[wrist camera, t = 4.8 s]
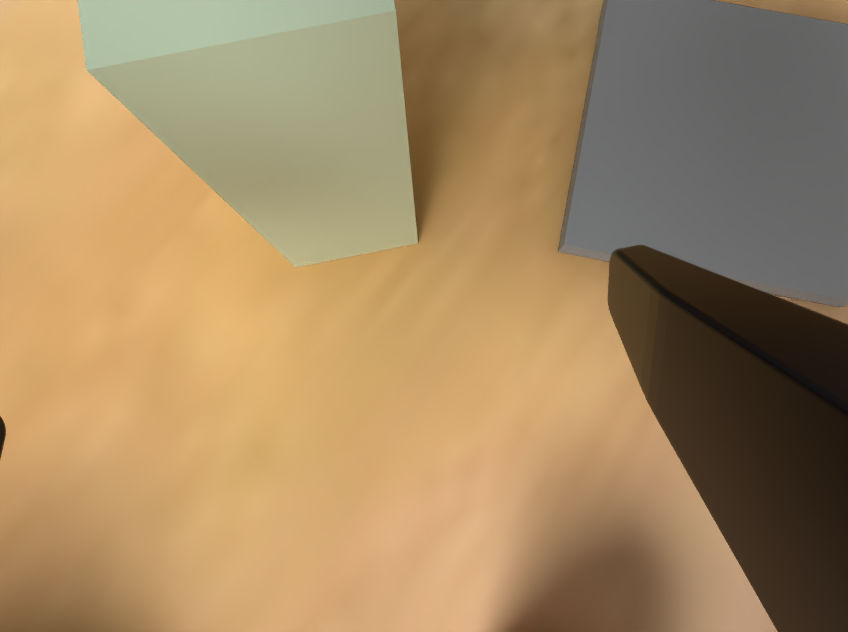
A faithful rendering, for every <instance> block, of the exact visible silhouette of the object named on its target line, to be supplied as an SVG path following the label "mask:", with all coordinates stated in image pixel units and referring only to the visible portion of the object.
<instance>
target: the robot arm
mask: <svg viewBox="0 0 848 632" xmlns="http://www.w3.org/2000/svg"><path fill="white" fill-rule="evenodd" d="M608 305H609V310H610V313H611V316H612V319H613V321H614V323H615V326H616V328H617V331H618V333H619V335H620V338H621V340H622V343H623V345H624V348H625V350H626V352H627V355H628V357H629V360H630V362H631V364H632V367H633V369H634V372H635V374H636V376H637V379H638V381H639V384H640V386H641V388H642V391H643V393H644V395H645V397H646V400H647V402H648V404H649V405H650V407H651V409H652V411H653V413H654V415H655V417H656V418H657V420H658V422H659V424H660V425H661V427H662V429H663V431H664V433H665V434H666V436H667V438H668V440H669V441H670V443H671V445H672V447H673V448H674V450H675V452H676V454H677V455H678V457H679V459H680V461H681V462H682V464H683V466H684V468H685V469H686V471H687V473H688V475H689V476H690V478H691V480H692V482H693V484H694V485H695V487H696V489H697V491H698V492H699V494H700V496H701V498H702V499H703V501H704V503H705V505H706V506H707V508H708V510H709V512H710V513H711V515H712V517H713V519H714V520H715V522H716V524H717V526H718V527H719V529H720V531H721V533H722V534H723V536H724V538H725V540H726V542H727V543H728V545H729V547H730V549H731V550H732V552H733V554H734V556H735V557H736V559H737V561H738V563H739V564H740V566H741V568H742V570H743V571H744V573H745V575H746V577H747V578H748V580H749V582H750V584H751V585H752V587H753V589H754V591H755V592H756V594H757V596H758V598H759V600H760V601H761V603H762V605H763V607H764V608H765V610H766V612H767V614H768V615H769V617H770V619H771V621H772V622H773V624H774V626H775V628H776V629H777V631H778V632H848V324H846V323H843V322H841V321H838V320H835V319H833V318H830V317H828V316H825V315H823V314H820V313H817V312H815V311H812V310H810V309H807V308H805V307H802V306H799V305H797V304H794V303H792V302H789V301H787V300H784V299H781V298H779V297H776V296H774V295H771V294H769V293H766V292H763V291H761V290H758V289H756V288H753V287H751V286H748V285H745V284H743V283H740V282H738V281H735V280H733V279H730V278H727V277H725V276H722V275H720V274H717V273H715V272H712V271H709V270H707V269H704V268H702V267H699V266H697V265H694V264H691V263H689V262H686V261H684V260H681V259H679V258H676V257H673V256H671V255H668V254H666V253H663V252H661V251H658V250H656V249H653V248H650V247H648V246H645V245H634V246H629V247H625V248H620V249H616V250H614V251H613V252H612V254H611V257H610V264H609V283H608ZM5 436H6V428H5V424H4V421H3V419H2V418H1V416H0V458H1V454H2V450H3V445H4V441H5Z"/></svg>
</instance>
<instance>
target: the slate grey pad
mask: <svg viewBox="0 0 848 632" xmlns="http://www.w3.org/2000/svg"><path fill="white" fill-rule="evenodd" d="M634 245H645V246H648V247H650V248H653V249H656V250H658V251H661V252H663V253H666V254H668V255H671V256H673V257H676V258H679V259H681V260H684V261H686V262H689V263H691V264H694V265H697V266H699V267H702V268H704V269H707V270H709V271H712V272H715V273H717V274H720V275H722V276H725V277H727V278H730V279H733V280H735V281H738V282H740V283H743V284H745V285H748V286H751V287H753V288H756V289H758V290H761V291H763V292H766V293H770V294H775V295H780V296H785V297H790V298H795V299H800V300H806V301H811V302H816V303H821V304H826V305H831V306H836V307H842V306H846V305H848V24H844V23H839V22H833V21H827V20H822V19H816V18H810V17H805V16H799V15H793V14H788V13H782V12H776V11H771V10H765V9H759V8H754V7H748V6H742V5H737V4H731V3H725V2H720V1H714V0H604V1H603V6H602V12H601V17H600V23H599V28H598V34H597V39H596V45H595V50H594V56H593V61H592V67H591V72H590V78H589V83H588V89H587V94H586V100H585V105H584V111H583V116H582V122H581V127H580V133H579V138H578V144H577V149H576V155H575V160H574V166H573V171H572V177H571V182H570V188H569V193H568V199H567V204H566V210H565V215H564V221H563V226H562V232H561V237H560V243H559V248H558V252H562V253H567V254H572V255H577V256H582V257H587V258H592V259H597V260H603V261H608V262H610V257H611V254H612V252H613V251H614V250H616V249H620V248H625V247H629V246H634Z"/></svg>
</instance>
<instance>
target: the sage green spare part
mask: <svg viewBox="0 0 848 632" xmlns="http://www.w3.org/2000/svg"><path fill="white" fill-rule="evenodd" d="M78 7H79V15H80V23H81V31H82V38H83V46H84V54H85V62H86V69H87V71H88V72H89V73H90V74H91V75H92V76H93V77H94V78H95V79H96V80H98V81H99V82H100V83H101V84H102V85H103V86H104V87H105V88H106V89H107V90H108V91H109V92H110V93H111V94H112V95H113V96H114V97H116V98H117V99H118V100H119V101H120V102H121V103H122V104H123V105H124V106H125V107H126V108H127V109H128V110H129V111H130V112H131V113H132V114H133V115H135V116H136V117H137V118H138V119H139V120H140V121H141V122H142V123H143V124H144V125H145V126H146V127H147V128H148V129H149V130H150V131H151V132H153V133H154V134H155V135H156V136H157V137H158V138H159V139H160V140H161V141H162V142H163V143H164V144H165V145H166V146H167V147H168V148H169V149H171V150H172V151H173V152H174V153H175V154H176V155H177V156H178V157H179V158H180V159H181V160H182V161H183V162H184V163H185V164H186V165H187V166H189V167H190V168H191V169H192V170H193V171H194V172H195V173H196V174H197V175H198V176H199V177H200V178H201V179H202V180H203V181H204V182H205V183H206V184H208V185H209V186H210V187H211V188H212V189H213V190H214V191H215V192H216V193H217V194H218V195H219V196H220V197H221V198H222V199H223V200H224V201H226V202H227V203H228V204H229V205H230V206H231V207H232V208H233V209H234V210H235V211H236V212H237V213H238V214H239V215H240V216H241V217H242V218H244V219H245V220H246V221H247V222H248V223H249V224H250V225H251V226H252V227H253V228H254V229H255V230H256V231H257V232H258V233H259V234H260V235H262V236H263V237H264V238H265V239H266V240H267V241H268V242H269V243H270V244H271V245H272V246H273V247H274V248H275V249H276V250H277V251H278V252H279V253H281V254H282V255H283V256H284V257H285V258H286V259H287V260H288V261H289V262H290V263H291V264H292V265H293V266H294V267H295V268H296V267H301V266H306V265H311V264H317V263H322V262H327V261H332V260H337V259H342V258H347V257H352V256H357V255H362V254H367V253H372V252H377V251H382V250H387V249H392V248H397V247H402V246H407V245H412V244H418V238H417V227H416V217H415V206H414V196H413V185H412V175H411V164H410V154H409V143H408V133H407V122H406V112H405V101H404V91H403V80H402V70H401V59H400V49H399V38H398V28H397V17H396V9H395V4H394V0H78Z"/></svg>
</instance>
